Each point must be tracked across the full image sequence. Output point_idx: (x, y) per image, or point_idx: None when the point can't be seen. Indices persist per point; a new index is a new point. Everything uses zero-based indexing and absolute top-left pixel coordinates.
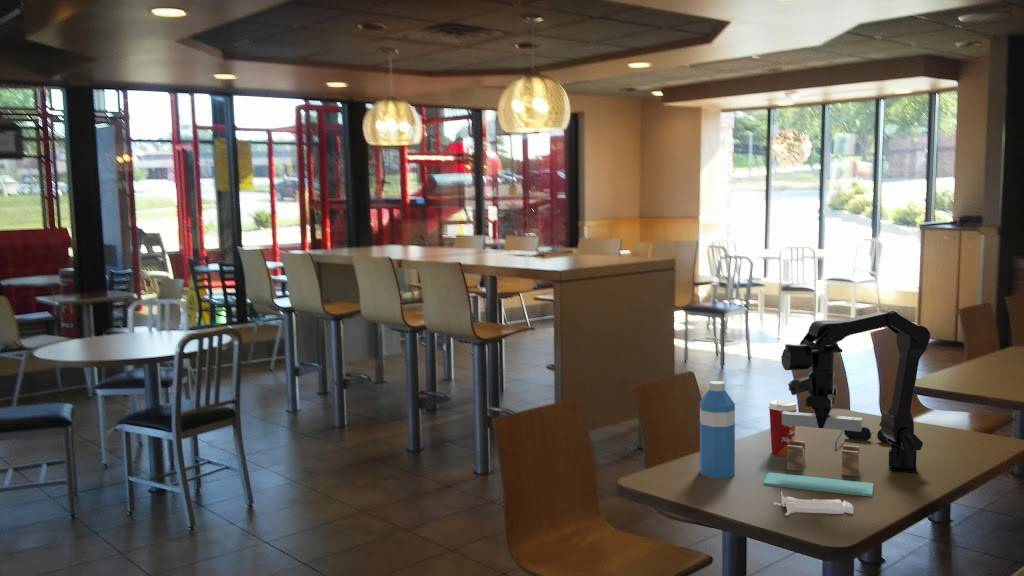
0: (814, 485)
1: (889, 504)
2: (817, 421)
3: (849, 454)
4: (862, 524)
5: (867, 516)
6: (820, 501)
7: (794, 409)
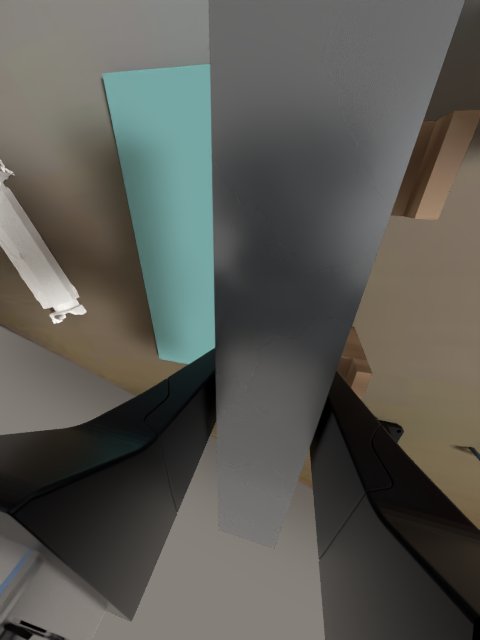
0: (157, 251)
1: (139, 372)
2: (200, 359)
3: None
4: (35, 325)
5: (69, 335)
6: (20, 269)
7: None
